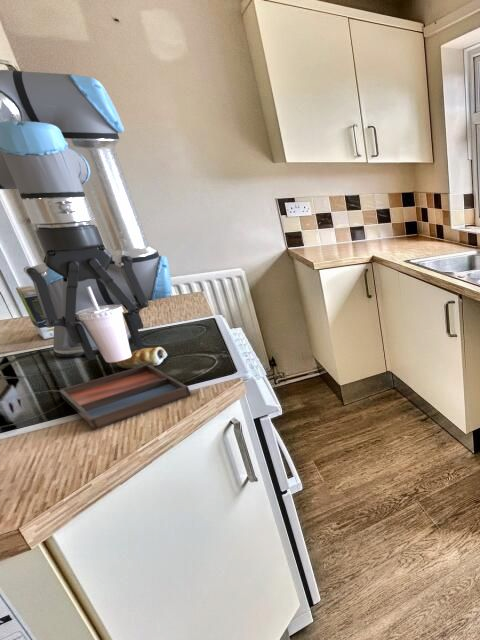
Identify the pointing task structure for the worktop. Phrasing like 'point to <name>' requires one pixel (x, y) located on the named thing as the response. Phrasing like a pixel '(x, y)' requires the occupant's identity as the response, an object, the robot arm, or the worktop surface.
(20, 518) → the worktop surface
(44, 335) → the tea box
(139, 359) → the pastry
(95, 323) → the smoothie
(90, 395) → the sorting tray
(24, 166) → the robot arm
